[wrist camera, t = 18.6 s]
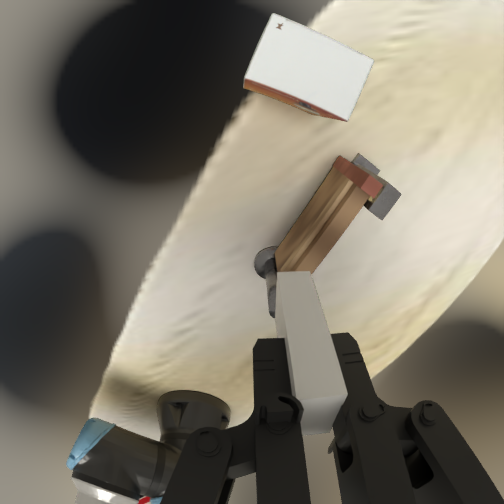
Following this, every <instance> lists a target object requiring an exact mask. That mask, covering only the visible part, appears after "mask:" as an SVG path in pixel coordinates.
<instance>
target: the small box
mask: <svg viewBox="0 0 504 504" xmlns="http://www.w3.org/2000/svg"><path fill="white" fill-rule="evenodd" d="M373 63H374V59H372V58H370V57H368V56H366V55H364V54H362V53H360V52H358V51H356V50H354V49H352V48H350V47H349V46H347V45H345V44H343V43H341V42H339V41H337V40H335V39H332V38H330V37H328V36H326V35H324V34H322V33H320V32H317V31H315V30H313V29H311V28H308V27H306V26H303V25H301V24H298V23H296V22H294V21H291V20H289V19H287V18H285V17H282V16H280V15H277V14H275V13H273V14H272V15H271V17H270V19H269V21H268V23H267V25H266V27H265V30H264V32H263V34H262V36H261V38H260V40H259V42H258V45H257V47H256V49H255V52H254V54H253V57H252V59H251V61H250V64H249V66H248V69H247V72H246V74H245V77H244V85H243V88H245V89H248V90H251V91H254V92H257V93H260V94H263V95H266V96H269V97H271V98H274V99H277V100H279V101H282V102H284V103H286V104H289V105H291V106H294V107H296V108H298V109H301V110H303V111H305V112H308V113H310V114H312V115H317V116H322V117H328V118H332V119H337V120H342V121H346V122H347V121H349V118H350V116H351V114H352V112H353V109H354V107H355V105H356V103H357V101H358V98H359V96H360V94H361V91H362V89H363V87H364V85H365V82H366V80H367V78H368V75H369V73H370V70H371V68H372V66H373Z"/></svg>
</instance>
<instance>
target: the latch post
mask: <svg viewBox="0 0 504 504" xmlns="http://www.w3.org/2000/svg"><path fill="white" fill-rule="evenodd" d="M352 164H354V165H356V166H357V167H359V168H360V169H362V170H363V171H365V172H366V173H368V174H369V175H371V176H372V177H373V178H375V179H376V180H377V181H378V182H380V183H381V184H382V185H383V186H382V188H381V189H380V191H379V192H378V194H377V195H376V196H375V198H373V197H371V196H370V197H369V198H368V200H367V201H366V202H365V204H364V206H365V207H366V208H367V209H368V210H369V211H370V212H372V213H373V214H374V215H375V216H377V217H378V218H379V219H381V220H383V219H384V217H385V216H386V215H387V213H388V212H389V211H390V209H391V208H392V207H393V205H394V204H395V203H396V201H397V200H398V199H399V197H400V196H401V193H400V192H399V191H397V190H396V189H395V188H394V187H393V186H392V185H391V184H389V183H388V182H387V181H385V180H384V179H382V178H381V177H379V176H377V175H378V173H379V172H380V170H379V169H378V168H376V167H375V166H374V165H373V164H372V163H370V162H369V161H368V160H367V159H365V158H364V157H363V156H362V155H360V154H359V153H358V155H357V156H356V157H355V159H354V160H353V162H352Z"/></svg>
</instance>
